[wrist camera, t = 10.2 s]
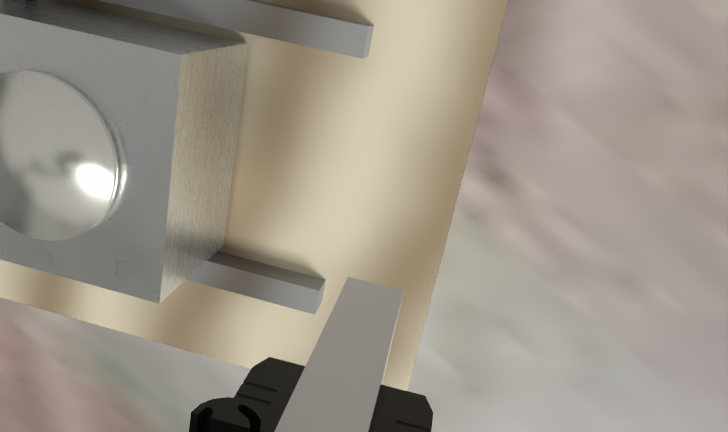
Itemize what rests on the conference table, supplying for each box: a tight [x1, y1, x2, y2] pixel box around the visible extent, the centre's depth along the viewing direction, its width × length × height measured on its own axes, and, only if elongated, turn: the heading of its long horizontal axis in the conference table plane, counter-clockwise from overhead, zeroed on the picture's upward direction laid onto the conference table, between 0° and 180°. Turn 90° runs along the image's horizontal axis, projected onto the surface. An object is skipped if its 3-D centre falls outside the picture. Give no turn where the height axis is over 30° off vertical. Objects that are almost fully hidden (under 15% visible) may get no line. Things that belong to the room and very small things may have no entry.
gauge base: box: [0, 0, 508, 391], centre depth 21 cm, size 30×18×9 cm, turn 79°
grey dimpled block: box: [0, 0, 249, 304], centre depth 20 cm, size 8×13×5 cm, turn 169°
